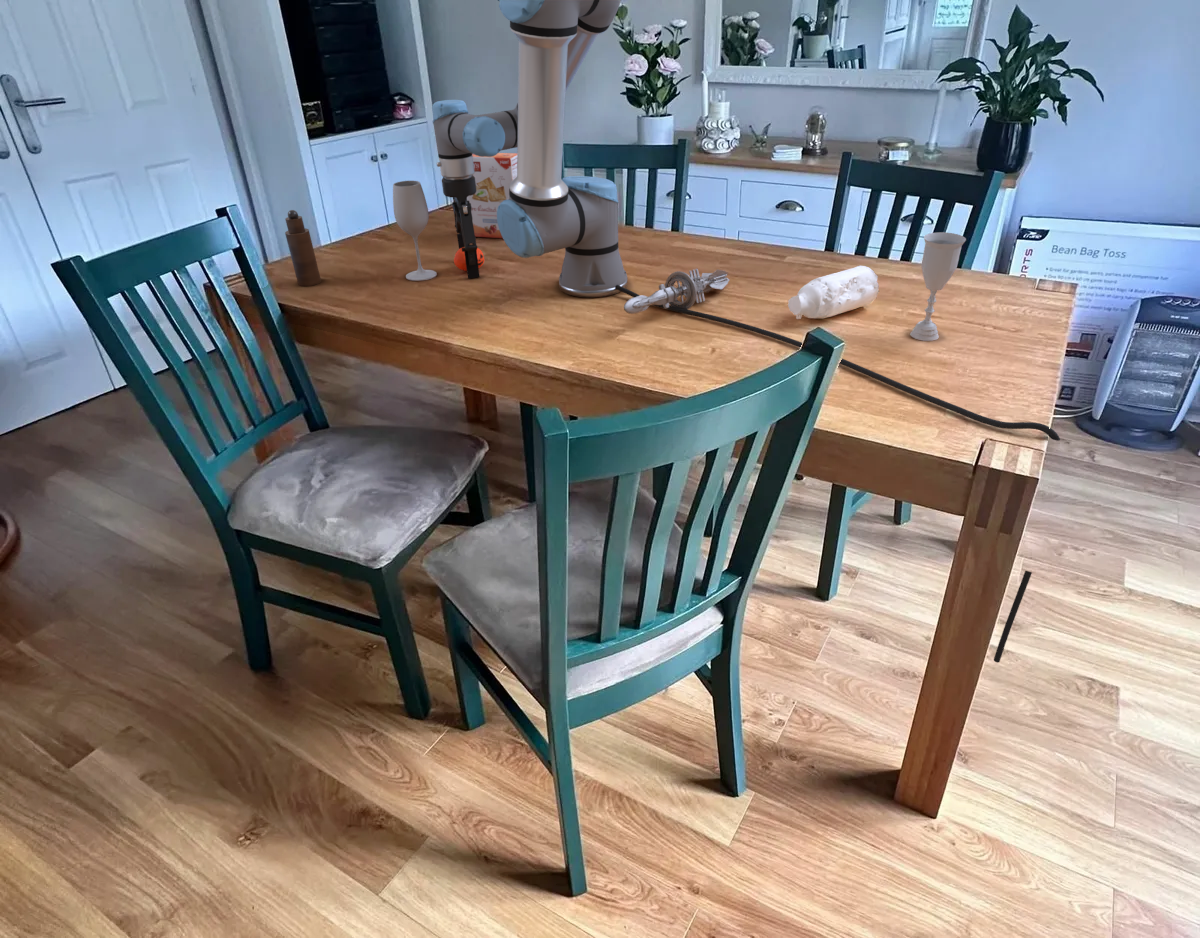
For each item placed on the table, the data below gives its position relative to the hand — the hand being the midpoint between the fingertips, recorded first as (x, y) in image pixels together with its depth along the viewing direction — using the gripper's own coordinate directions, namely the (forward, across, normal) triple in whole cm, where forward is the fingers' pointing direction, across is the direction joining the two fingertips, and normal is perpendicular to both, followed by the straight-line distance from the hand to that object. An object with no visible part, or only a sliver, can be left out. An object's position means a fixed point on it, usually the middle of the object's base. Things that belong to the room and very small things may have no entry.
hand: (469, 268), depth 184 cm
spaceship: (0, +43, +37) cm, 57 cm away
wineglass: (0, 0, -12) cm, 12 cm away
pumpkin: (0, 0, 0) cm, 0 cm away
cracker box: (0, -26, +11) cm, 28 cm away
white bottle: (0, +56, +65) cm, 86 cm away
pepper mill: (0, -5, -37) cm, 38 cm away
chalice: (0, +71, +75) cm, 103 cm away
